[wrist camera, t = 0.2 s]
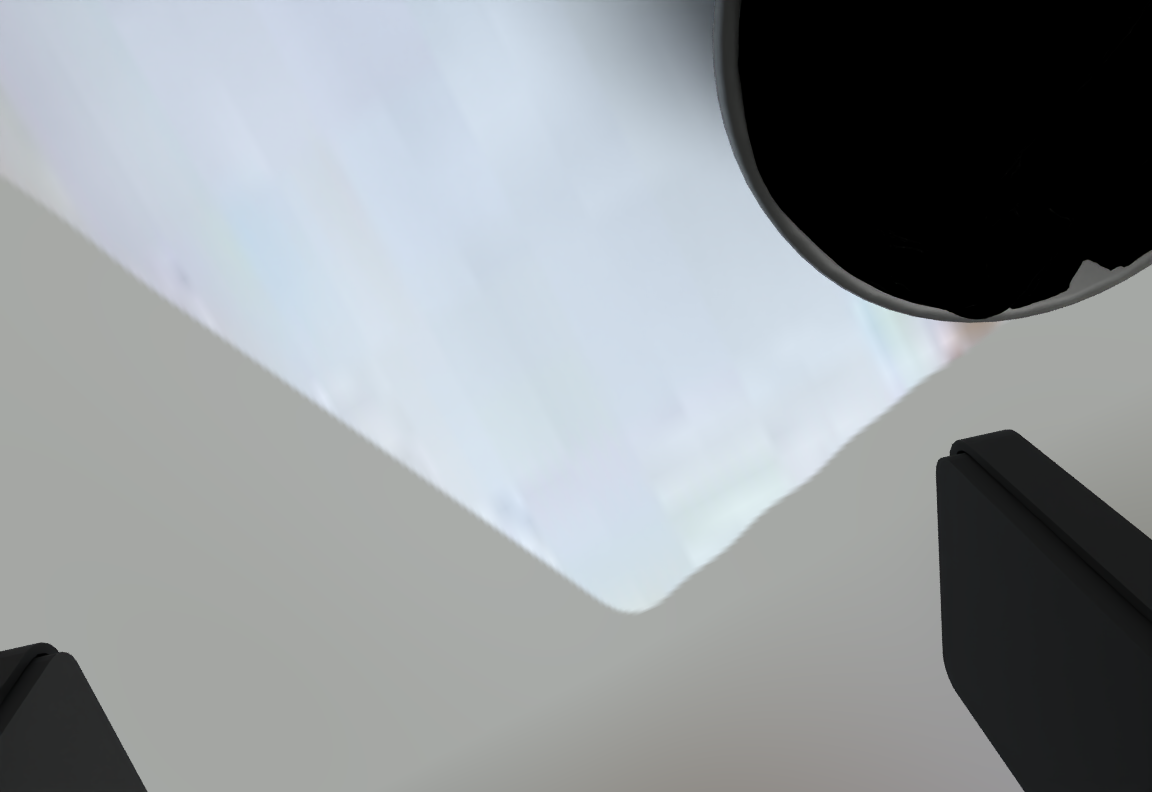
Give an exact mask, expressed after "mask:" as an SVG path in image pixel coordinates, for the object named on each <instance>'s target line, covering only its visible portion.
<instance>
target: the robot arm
mask: <svg viewBox="0 0 1152 792" xmlns="http://www.w3.org/2000/svg"><path fill="white" fill-rule="evenodd" d="M936 486H937V513H938V536H939V537H938V539H939V564H940V565H939V566H940V593H941V620H942V646H943V659H944V664H945V668H946V671H947V674H948V677H949V679H950V681H951V684H952V686H953V688H954V689H955V691H956V693H957V694H958V696H959V697H960V698H961V700H962V701H963V703H964V704H965V705H966V707H967V708H968V710H969V712H970V713H971V714H972V716H973V717H974V719H975V720H976V721H977V723H978V725H979V726H980V728H981V729H982V730H983V732H984V733H985V735H986V736H987V738H988V739H989V741H990V742H991V744H992V745H993V746H994V748H995V749H996V751H997V752H998V754H999V755H1000V757H1001V758H1002V759H1003V761H1004V762H1005V764H1006V765H1007V767H1008V768H1009V770H1010V771H1011V772H1012V774H1013V775H1014V777H1015V778H1016V780H1017V781H1018V783H1019V784H1020V786H1021V787H1022V788H1023V790H1024V791H1025V792H1152V540H1151V539H1150V538H1149V537H1148V536H1146V535H1145V534H1144V533H1143V532H1141V531H1140V530H1139V529H1138V528H1136V527H1135V526H1134V525H1133V524H1131V523H1130V522H1129V521H1128V520H1126V519H1125V518H1124V517H1123V516H1121V515H1120V514H1119V513H1118V512H1116V511H1115V510H1114V509H1113V508H1111V507H1110V506H1109V505H1107V504H1106V503H1105V502H1104V501H1102V500H1101V499H1100V498H1099V497H1097V496H1096V495H1095V494H1094V493H1092V492H1091V491H1090V490H1089V489H1087V488H1086V487H1085V486H1084V485H1082V484H1081V483H1080V482H1079V481H1077V480H1076V479H1075V478H1074V477H1072V476H1071V475H1070V474H1068V473H1067V472H1066V471H1065V470H1064V469H1062V468H1061V467H1060V466H1058V465H1057V464H1056V463H1055V462H1053V461H1052V460H1051V459H1050V458H1049V457H1047V456H1046V455H1045V454H1043V453H1042V452H1041V451H1040V450H1038V449H1037V448H1036V447H1035V446H1033V445H1032V444H1031V443H1030V442H1029V441H1027V440H1026V439H1025V438H1023V437H1022V436H1021V435H1020V434H1018V433H1017V432H1015V431H1013V430H1002V431H997V432H993V433H988V434H984V435H979V436H975V437H970V438H966V439H961V440H957V441H955V442H954V443H953V444H952V447H951V450H950V456H947V457H943V458H940V459H939V460H938V462H937V466H936ZM0 792H147V790H146V789H145V786H144V785H143V783H142V781H141V779H140V777H139V775H138V774H137V772H136V770H135V768H134V766H133V764H132V763H131V761H130V759H129V757H128V755H127V753H126V751H125V750H124V748H123V746H122V744H121V742H120V740H119V738H118V737H117V735H116V733H115V731H114V729H113V728H112V726H111V724H110V722H109V720H108V718H107V716H106V714H105V713H104V711H103V709H102V707H101V705H100V703H99V702H98V700H97V698H96V696H95V694H94V692H93V691H92V689H91V687H90V685H89V683H88V681H87V679H86V678H85V676H84V674H83V672H82V670H81V668H80V666H79V665H78V663H77V661H76V660H75V659H74V657H73V656H72V655H70V654H68V653H65V652H58V650H57V649H56V648H55V647H53V646H52V645H50V644H48V643H36V644H32V645H27V646H23V647H18V648H14V649H9V650H5V651H0Z"/></svg>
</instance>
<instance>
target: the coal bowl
mask: <svg viewBox="0 0 1152 792" xmlns="http://www.w3.org/2000/svg"><path fill="white" fill-rule="evenodd" d="M713 61H714V73H715V81H716V89H717V96H718V101H719V106H720V110H721V114H722V119H723V123H724V127H725V130H726V133H727V136H728V139H729V142H730V145H731V148H732V151H733V154H734V156H735V159H736V161H737V163H738V165H739V167H740V170H741V172H742V174H743V176H744V178H745V181H746V183H747V185H748V186H749V188H750V190H751V192H752V193H753V195H754V197H755V198H756V200H757V202H758V203H759V205H760V207H761V208H762V210H763V211H764V213H765V214H766V215H767V217H768V218H769V219H770V221H771V222H772V223H773V225H774V226H775V227H776V229H777V230H778V232H779V233H780V234H781V235H782V236H783V237H784V238H785V240H786V241H787V242H788V243H789V244H790V245H791V246H792V247H793V248H794V249H795V250H796V251H797V252H798V254H799V255H800V256H801V257H802V258H804V259H805V260H806V261H807V262H808V263H809V264H811V265H812V266H813V267H814V268H815V269H816V270H817V271H819V272H820V273H821V274H822V275H824V276H825V277H827V278H828V279H830V280H831V281H833V282H834V283H836V284H837V285H839V286H840V287H841V288H843V289H845V290H847V291H849V292H851V293H852V294H854V295H856V296H858V297H860V298H862V299H864V300H866V301H868V302H871V303H873V304H876V305H879V306H881V307H884V308H886V309H889V310H892V311H896V312H899V313H903V314H907V315H910V316H915V317H921V318H927V319H933V320H939V321H951V322H967V323H971V322H996V321H1004V320H1011V319H1019V318H1024V317H1029V316H1033V315H1038V314H1042V313H1046V312H1050V311H1053V310H1056V309H1059V308H1063V307H1066V306H1069V305H1072V304H1075V303H1077V302H1080V301H1082V300H1085V299H1087V298H1089V297H1092V296H1094V295H1097V294H1099V293H1101V292H1103V291H1105V290H1107V289H1109V288H1111V287H1113V286H1115V285H1117V284H1119V283H1121V282H1123V281H1125V280H1127V279H1128V278H1130V277H1132V276H1133V275H1135V274H1137V273H1138V272H1140V271H1141V270H1143V269H1145V268H1146V267H1148V266H1150V265H1151V264H1152V0H715V2H714V18H713Z"/></svg>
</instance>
